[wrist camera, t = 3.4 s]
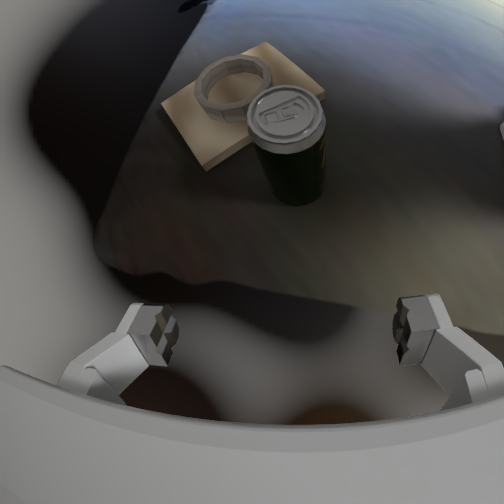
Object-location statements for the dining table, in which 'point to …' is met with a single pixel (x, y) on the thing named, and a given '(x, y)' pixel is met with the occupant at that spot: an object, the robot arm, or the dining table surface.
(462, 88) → the dining table surface
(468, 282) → the dining table surface
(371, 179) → the dining table surface
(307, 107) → the beer can
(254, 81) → the board
